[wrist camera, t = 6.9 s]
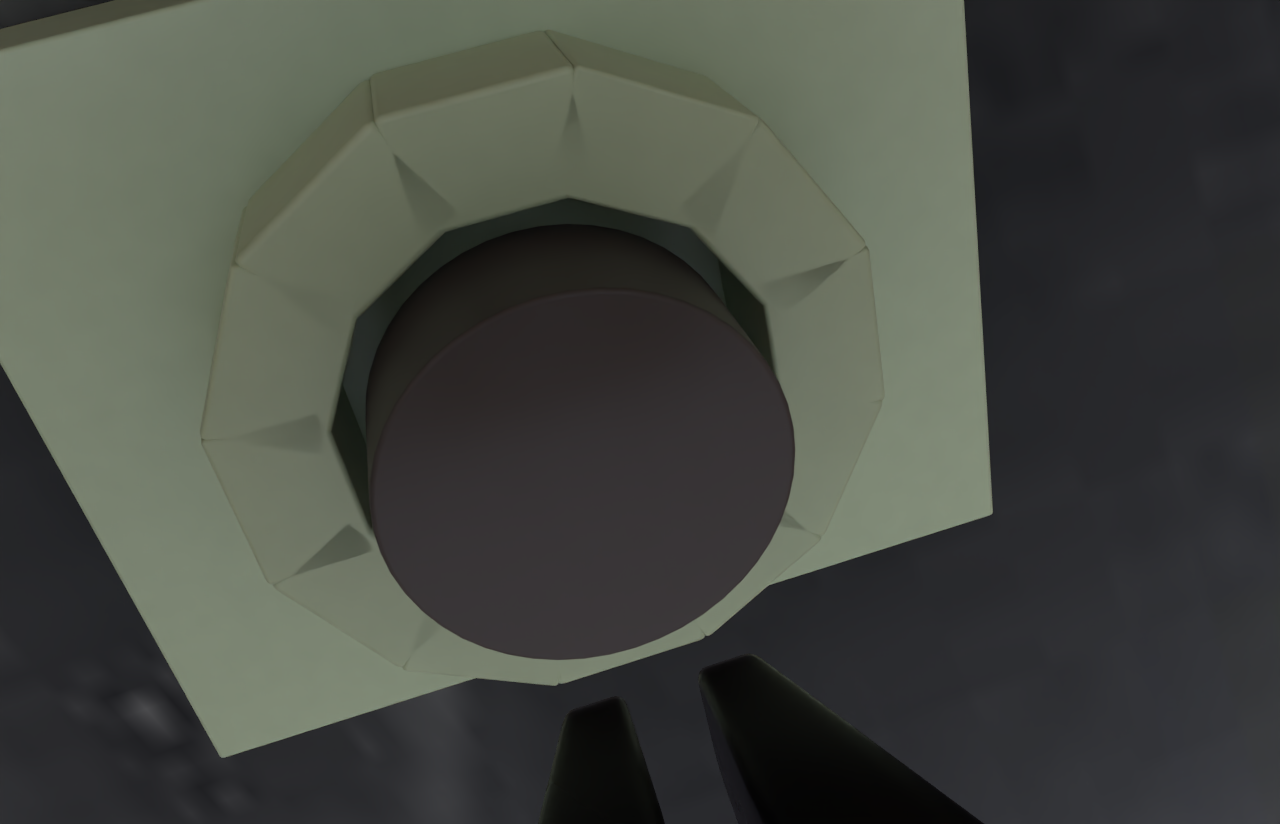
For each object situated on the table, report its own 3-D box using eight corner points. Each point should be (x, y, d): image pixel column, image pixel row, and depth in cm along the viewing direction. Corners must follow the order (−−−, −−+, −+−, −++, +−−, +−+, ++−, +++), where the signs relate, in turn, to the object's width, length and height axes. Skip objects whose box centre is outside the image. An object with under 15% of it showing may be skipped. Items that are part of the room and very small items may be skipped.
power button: (431, 604, 13) (442, 711, 11) (307, 287, 11) (304, 365, 9) (767, 501, 13) (821, 591, 12) (708, 174, 11) (765, 234, 10)
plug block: (231, 675, 17) (207, 871, 14) (-97, 52, 12) (-240, 140, 9) (941, 455, 18) (1064, 591, 15) (886, -195, 13) (1049, -191, 10)
